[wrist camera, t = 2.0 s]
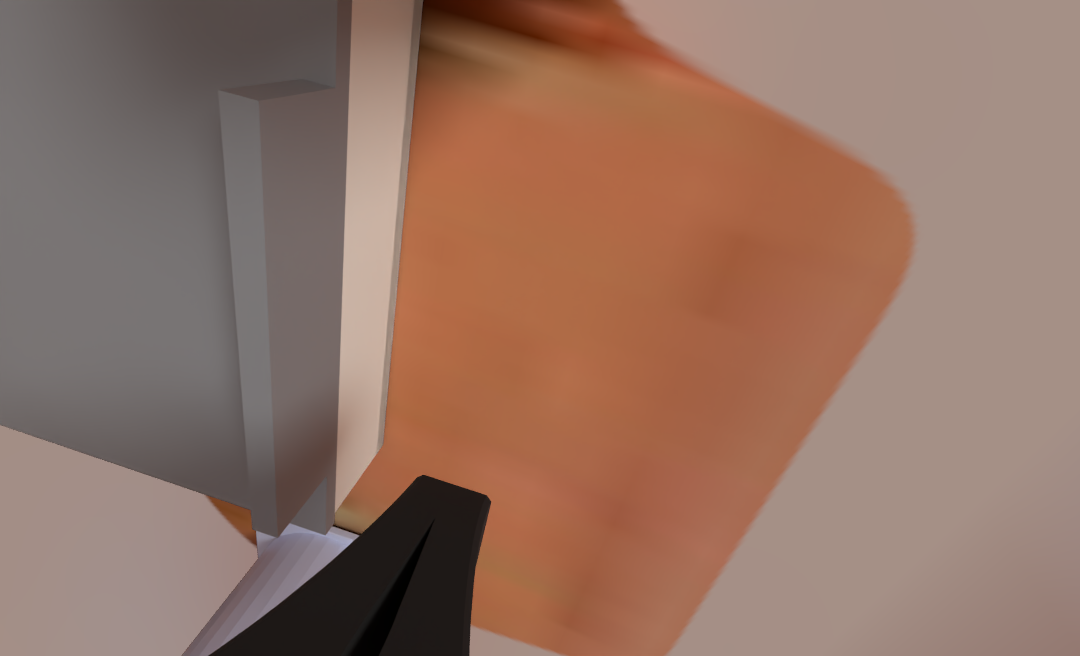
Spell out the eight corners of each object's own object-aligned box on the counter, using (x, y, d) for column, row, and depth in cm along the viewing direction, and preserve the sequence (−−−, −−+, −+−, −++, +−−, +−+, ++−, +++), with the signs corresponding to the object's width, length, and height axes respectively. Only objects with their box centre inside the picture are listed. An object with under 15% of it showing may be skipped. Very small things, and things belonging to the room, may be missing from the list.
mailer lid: (334, 522, 20) (280, 600, 17) (-13, 405, 21) (-115, 461, 19) (354, -73, 11) (249, -106, 8) (-248, -219, 12) (-512, -290, 10)
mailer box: (382, 445, 24) (333, 514, 20) (93, 351, 25) (0, 402, 22) (427, -49, 15) (352, -72, 11) (-28, -160, 16) (-221, -212, 13)
